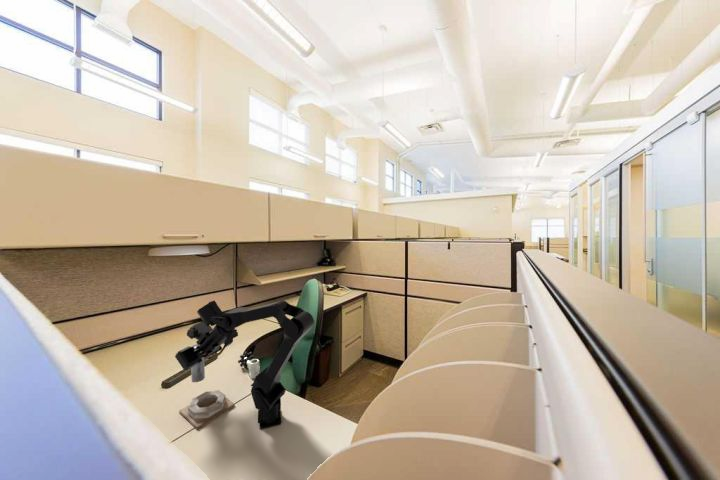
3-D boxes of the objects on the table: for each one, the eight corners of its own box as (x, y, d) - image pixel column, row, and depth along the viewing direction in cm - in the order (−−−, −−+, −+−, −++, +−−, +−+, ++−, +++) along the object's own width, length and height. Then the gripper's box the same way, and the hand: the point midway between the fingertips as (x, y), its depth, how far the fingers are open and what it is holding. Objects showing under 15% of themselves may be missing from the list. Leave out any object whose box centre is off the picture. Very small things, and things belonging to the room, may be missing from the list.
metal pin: (205, 374, 94) (204, 343, 93) (203, 380, 90) (202, 348, 89) (193, 376, 92) (191, 344, 91) (190, 383, 89) (188, 350, 88)
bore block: (234, 405, 88) (234, 397, 88) (197, 429, 78) (197, 420, 78) (216, 392, 94) (215, 384, 94) (179, 412, 84) (179, 404, 84)
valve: (264, 375, 105) (253, 363, 114) (264, 360, 105) (253, 349, 113) (248, 382, 101) (237, 368, 109) (247, 366, 100) (237, 354, 109)
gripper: (226, 308, 97) (204, 331, 101) (178, 327, 79) (154, 355, 83) (243, 331, 95) (221, 354, 99) (198, 356, 77) (173, 383, 82)
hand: (194, 360), depth 91 cm, fingers closed on metal pin, 4 cm apart
